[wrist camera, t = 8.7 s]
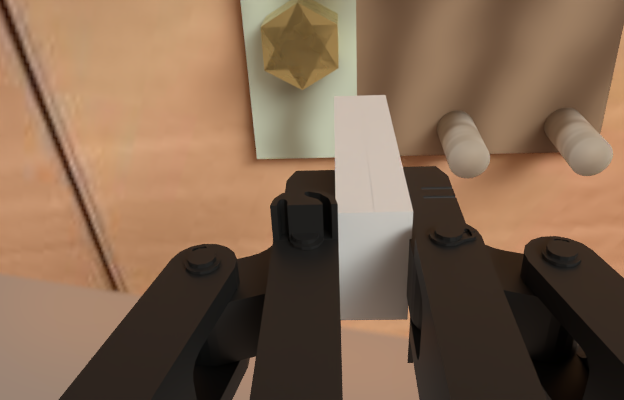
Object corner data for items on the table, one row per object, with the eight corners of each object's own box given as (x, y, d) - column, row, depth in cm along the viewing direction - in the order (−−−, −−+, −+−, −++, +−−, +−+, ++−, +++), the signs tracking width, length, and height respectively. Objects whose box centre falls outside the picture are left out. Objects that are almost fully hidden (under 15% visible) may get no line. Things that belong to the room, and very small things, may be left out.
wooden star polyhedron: (271, 76, 37) (266, 91, 35) (264, -6, 35) (258, 4, 32) (339, 74, 37) (339, 89, 35) (337, -9, 35) (336, 1, 32)
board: (259, 151, 41) (246, 194, 36) (231, -119, 33) (209, -117, 28) (589, 144, 40) (627, 186, 35) (648, -142, 32) (711, -144, 26)
